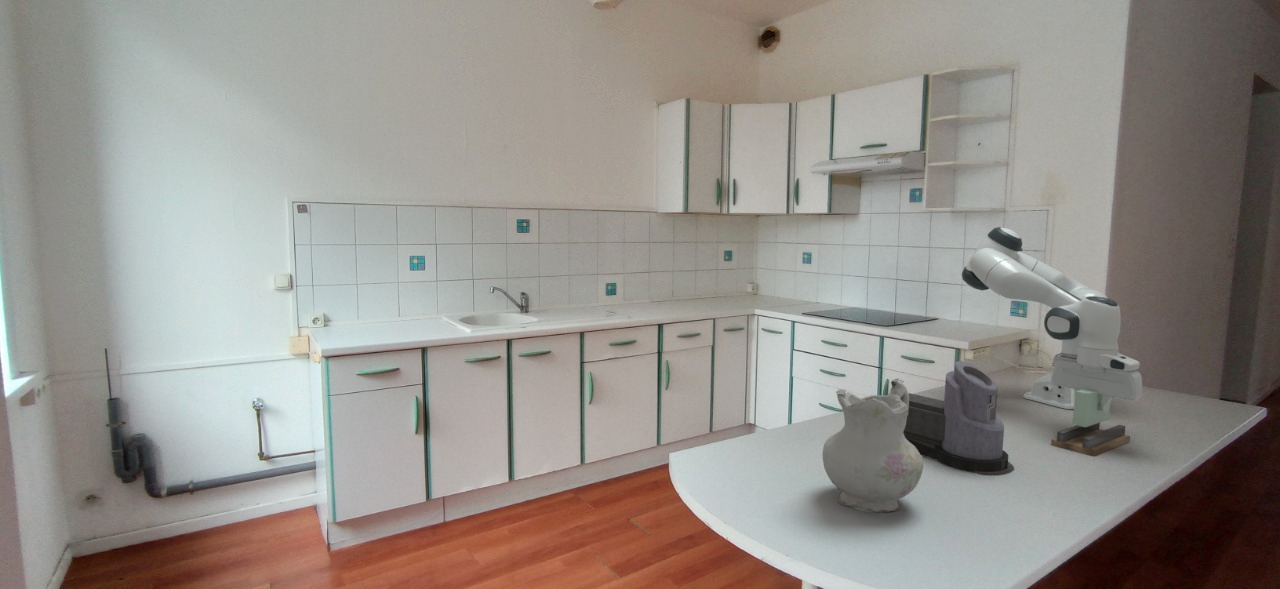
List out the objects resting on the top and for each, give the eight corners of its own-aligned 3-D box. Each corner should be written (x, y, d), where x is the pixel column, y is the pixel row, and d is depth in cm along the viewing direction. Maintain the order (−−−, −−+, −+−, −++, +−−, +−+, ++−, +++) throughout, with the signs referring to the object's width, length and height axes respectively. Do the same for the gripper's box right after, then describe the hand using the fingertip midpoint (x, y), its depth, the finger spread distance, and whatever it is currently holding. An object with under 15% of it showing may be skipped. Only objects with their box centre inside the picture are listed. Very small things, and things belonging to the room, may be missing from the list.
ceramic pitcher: (849, 478, 146) (845, 372, 145) (939, 494, 133) (935, 378, 132) (809, 509, 129) (804, 389, 128) (908, 531, 117) (903, 399, 115)
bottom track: (1050, 444, 168) (1052, 430, 167) (1088, 431, 179) (1089, 418, 179) (1093, 456, 159) (1095, 440, 159) (1129, 441, 171) (1131, 427, 171)
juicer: (1025, 466, 152) (1032, 367, 150) (994, 481, 142) (1002, 375, 140) (909, 433, 176) (914, 348, 174) (876, 444, 166) (880, 354, 164)
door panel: (1072, 424, 166) (1075, 391, 166) (1096, 416, 174) (1099, 384, 173) (1085, 427, 164) (1088, 393, 163) (1108, 419, 171) (1111, 387, 171)
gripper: (1048, 352, 174) (1044, 401, 176) (1137, 366, 157) (1132, 419, 158) (1059, 350, 178) (1055, 398, 179) (1147, 363, 160) (1142, 416, 162)
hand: (1092, 408), depth 169 cm, fingers closed on door panel, 3 cm apart
